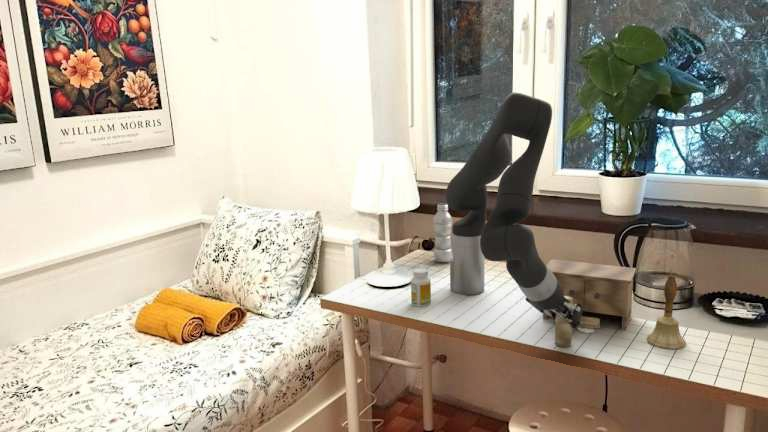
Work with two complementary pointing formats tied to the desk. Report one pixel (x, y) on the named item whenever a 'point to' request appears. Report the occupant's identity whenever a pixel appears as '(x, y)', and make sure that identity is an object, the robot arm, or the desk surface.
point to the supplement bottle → (420, 288)
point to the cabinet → (596, 287)
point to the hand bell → (667, 322)
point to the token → (586, 329)
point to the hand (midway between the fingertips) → (568, 322)
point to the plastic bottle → (442, 234)
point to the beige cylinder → (565, 330)
